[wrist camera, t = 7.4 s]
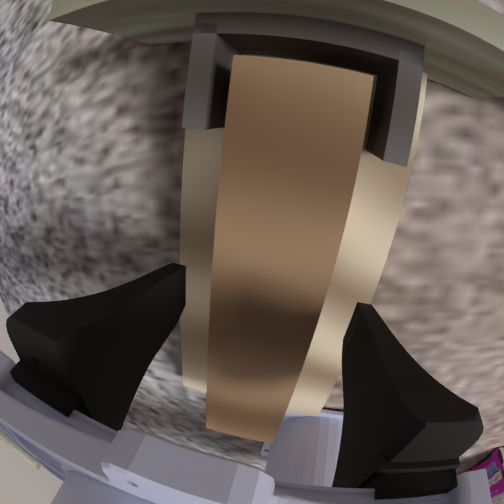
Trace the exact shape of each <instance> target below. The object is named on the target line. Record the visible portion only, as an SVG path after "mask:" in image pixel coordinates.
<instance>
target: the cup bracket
mask: <svg viewBox="0 0 504 504" xmlns="http://www.w3.org/2000/svg"><path fill="white" fill-rule="evenodd" d="M49 21H54V22H60V23H66V24H71V25H76V26H81V27H86V28H90V29H95V30H99V31H103V32H107V33H111V34H115V35H118V36H122V37H126V38H129V39H133V40H136V41H139V42H142V43H146V44H149V45H153V44H164V43H179V42H192V43H191V50H190V57H189V65H188V73H187V81H186V90H185V99H184V109H183V119H182V128H186V130H185V142H184V155H183V170H182V188H181V212H180V254H179V264H180V265H185V266H186V306H185V308H184V310H183V312H182V314H181V316H180V335H181V358H182V375H183V386H186V387H189V388H192V389H196V390H199V391H203V392H206V393H207V360H208V335H209V314H210V295H211V278H212V263H213V248H214V235H215V222H216V210H217V198H218V187H219V176H220V166H221V156H222V146H223V137H224V128H225V119H226V110H227V102H228V94H229V86H230V78H231V70H232V63H233V55H246V56H260V57H271V58H280V59H289V60H296V61H303V62H310V63H316V64H322V65H327V66H333V67H338V68H342V69H347V70H352V71H356V72H360V73H364V74H368V75H372V76H374V78H373V86H372V93H371V99H370V106H369V112H368V119H367V125H366V130H365V136H364V141H363V147H362V152H361V157H360V162H359V167H358V172H357V177H356V182H355V186H354V191H353V195H352V200H351V204H350V208H349V213H348V217H347V221H346V225H345V229H344V233H343V237H342V241H341V245H340V248H339V252H338V256H337V260H336V263H335V267H334V270H333V274H332V277H331V281H330V284H329V288H328V291H327V294H326V298H325V301H324V304H323V308H322V311H321V314H320V317H319V320H318V323H317V327H316V330H315V333H314V336H313V339H312V342H311V345H310V348H309V351H308V353H307V356H306V359H305V362H304V365H303V368H302V370H301V373H300V376H299V379H298V381H297V384H296V387H295V389H294V392H293V395H292V397H291V400H290V403H289V405H288V408H287V410H286V411H287V412H292V413H298V414H304V415H310V416H317V417H318V415H319V413H320V412H321V410H322V408H323V406H324V404H325V402H326V400H327V398H328V396H329V394H330V393H331V391H332V389H333V387H334V385H335V383H336V381H337V379H338V376H339V374H340V372H341V370H342V345H343V338H344V335H345V333H346V330H347V328H348V325H349V323H350V320H351V317H352V315H353V312H354V310H355V307H356V304H357V302H361V303H366V304H370V303H371V301H372V298H373V295H374V293H375V290H376V287H377V285H378V282H379V279H380V276H381V274H382V271H383V268H384V265H385V262H386V259H387V256H388V253H389V250H390V247H391V244H392V240H393V237H394V234H395V231H396V227H397V224H398V220H399V217H400V213H401V210H402V206H403V203H404V199H405V195H406V191H407V187H408V183H409V179H410V175H411V170H412V166H413V161H414V157H415V152H416V147H417V142H418V137H419V131H420V126H421V120H422V113H423V107H424V100H425V93H426V85H427V79H429V80H432V81H435V82H437V83H440V84H443V85H445V86H448V87H450V88H452V89H455V90H457V91H459V92H462V93H464V94H466V95H468V96H471V97H473V98H485V97H504V15H502V14H500V13H499V12H497V11H495V10H494V9H492V8H490V7H488V6H487V5H485V4H483V3H481V2H479V1H477V0H53V4H52V8H51V12H50V16H49Z"/></svg>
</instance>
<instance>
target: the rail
mask: <svg viewBox="0 0 504 504" xmlns="http://www.w3.org/2000/svg"><path fill="white" fill-rule="evenodd" d="M373 78H374V76H372V75H368V74H364V73H360V72H356V71H352V70H347V69H342V68H338V67H333V66H327V65H322V64H316V63H310V62H303V61H296V60H289V59H280V58H271V57H260V56H246V55H233V63H232V70H231V78H230V86H229V94H228V102H227V110H226V119H225V128H224V137H223V146H222V156H221V166H220V176H219V187H218V198H217V210H216V222H215V235H214V248H213V263H212V278H211V295H210V314H209V335H208V360H207V394H206V428H208V429H211V430H215V431H218V432H222V433H226V434H230V435H234V436H238V437H242V438H246V439H251V440H255V441H260V442H265V443H270V444H273V442H274V439H275V437H276V435H277V432H278V430H279V427H280V425H281V423H282V420H283V418H284V415H285V413H286V410H287V408H288V405H289V403H290V400H291V397H292V395H293V392H294V389H295V387H296V384H297V381H298V379H299V376H300V373H301V370H302V368H303V365H304V362H305V359H306V356H307V353H308V351H309V348H310V345H311V342H312V339H313V336H314V333H315V330H316V327H317V323H318V320H319V317H320V314H321V311H322V308H323V304H324V301H325V298H326V294H327V291H328V288H329V284H330V281H331V277H332V274H333V270H334V267H335V263H336V260H337V256H338V252H339V248H340V245H341V241H342V237H343V233H344V229H345V225H346V221H347V217H348V213H349V208H350V204H351V200H352V195H353V191H354V186H355V182H356V177H357V172H358V167H359V162H360V157H361V152H362V147H363V141H364V136H365V130H366V125H367V119H368V112H369V106H370V99H371V93H372V86H373Z"/></svg>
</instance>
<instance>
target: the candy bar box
mask: <svg viewBox="0 0 504 504" xmlns="http://www.w3.org/2000/svg"><path fill="white" fill-rule="evenodd" d="M479 469H486V472H487V478H488V483H489V489H490V496H491V503H492V504H504V447H498V448H497V449H495V450H494V451H493V452H492V453H491V454H489V455H488V456H487V457H486V458H484V459H483V460H482V461H480V462H479V463H478V464H477V465H475V466H474V467H473V468H471V469H470V470H469V471H474V470H479ZM467 472H468V471H467Z"/></svg>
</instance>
